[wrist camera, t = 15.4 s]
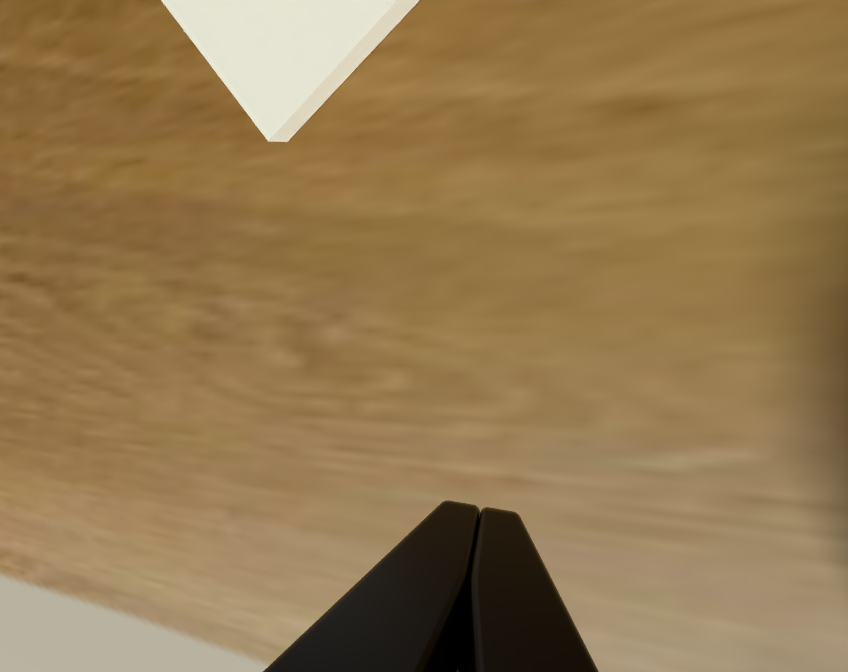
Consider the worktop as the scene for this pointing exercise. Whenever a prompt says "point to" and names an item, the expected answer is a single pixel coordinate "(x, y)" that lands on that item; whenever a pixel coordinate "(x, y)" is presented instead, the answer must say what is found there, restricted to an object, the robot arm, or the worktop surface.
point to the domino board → (286, 50)
